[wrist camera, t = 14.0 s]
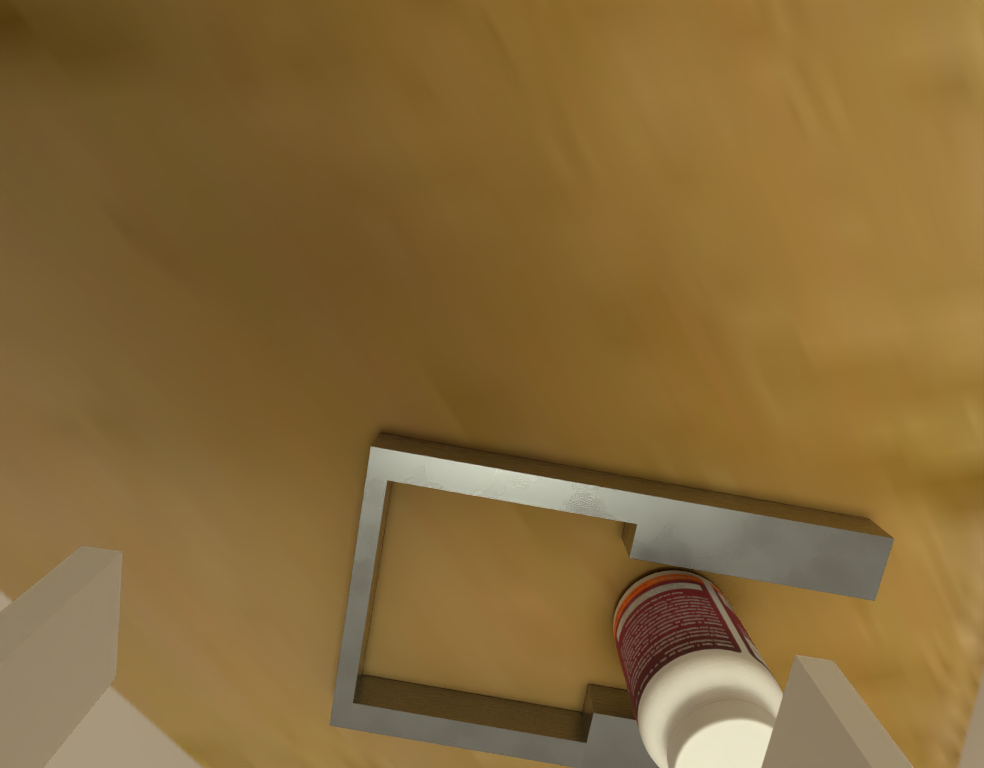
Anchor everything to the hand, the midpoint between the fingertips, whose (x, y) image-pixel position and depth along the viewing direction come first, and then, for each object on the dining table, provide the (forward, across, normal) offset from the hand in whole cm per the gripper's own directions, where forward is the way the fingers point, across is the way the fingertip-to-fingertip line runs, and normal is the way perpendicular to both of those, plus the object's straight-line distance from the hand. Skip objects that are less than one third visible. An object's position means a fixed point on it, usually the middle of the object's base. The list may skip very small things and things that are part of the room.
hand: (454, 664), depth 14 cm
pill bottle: (+22, +12, -10) cm, 27 cm away
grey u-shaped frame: (+22, +8, -11) cm, 25 cm away
